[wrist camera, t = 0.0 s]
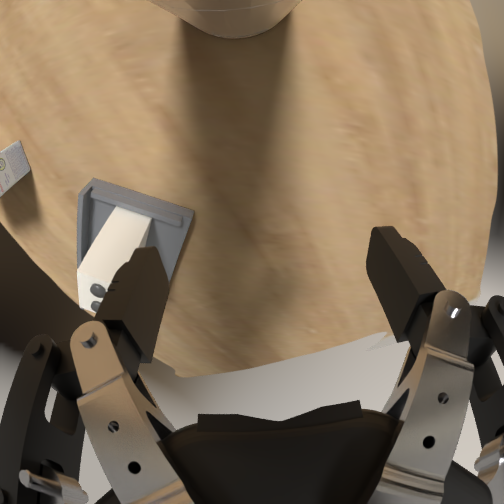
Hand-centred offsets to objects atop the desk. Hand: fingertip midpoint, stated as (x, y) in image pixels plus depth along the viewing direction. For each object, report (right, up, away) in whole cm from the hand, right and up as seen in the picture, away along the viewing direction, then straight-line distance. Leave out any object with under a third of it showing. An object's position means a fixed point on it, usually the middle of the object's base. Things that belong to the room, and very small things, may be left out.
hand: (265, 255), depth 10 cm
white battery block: (-13, +3, +18) cm, 22 cm away
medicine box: (-31, +11, +12) cm, 35 cm away
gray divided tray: (-16, -1, +23) cm, 28 cm away
